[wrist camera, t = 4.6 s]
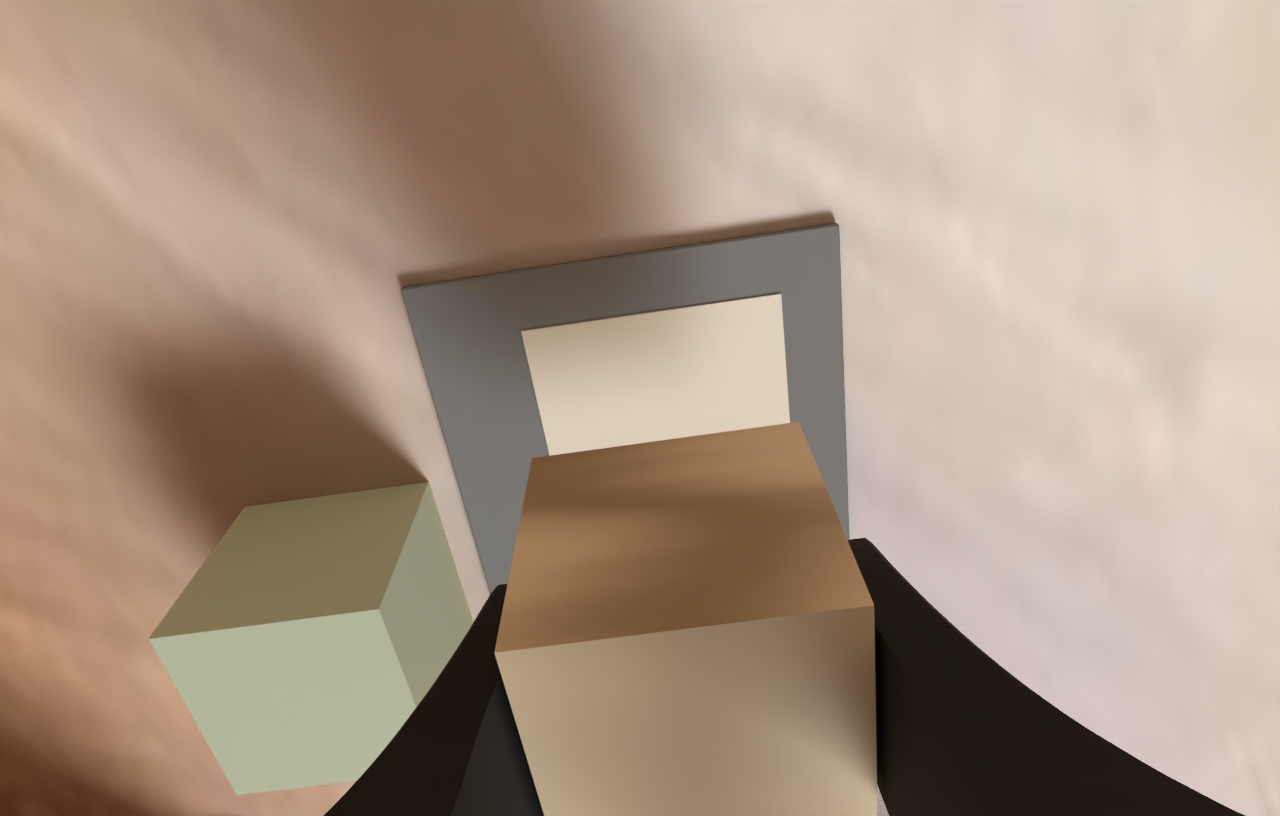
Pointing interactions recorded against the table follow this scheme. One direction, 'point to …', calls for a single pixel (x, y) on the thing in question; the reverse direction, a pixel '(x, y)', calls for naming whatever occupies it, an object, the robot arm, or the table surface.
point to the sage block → (315, 634)
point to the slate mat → (632, 361)
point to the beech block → (690, 633)
